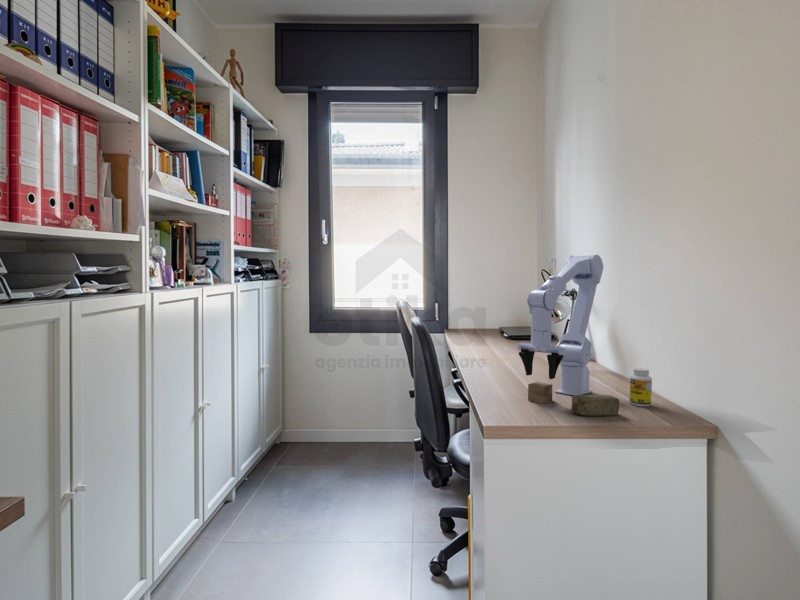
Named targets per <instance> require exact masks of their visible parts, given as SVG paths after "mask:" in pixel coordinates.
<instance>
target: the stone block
mask: <svg viewBox="0 0 800 600" xmlns="http://www.w3.org/2000/svg"><path fill="white" fill-rule="evenodd" d="M571 396H572V397H571V413H573V414H574V415H580V416H582V417H585V416H586V417H604V416H605V417H612V416H617V415H618V414H619V411H620V410H619V409H620V400H619V398H618V397H615V396H613V395H611V394H610V395H609V394H608V395H607V394H583V395H571Z"/></svg>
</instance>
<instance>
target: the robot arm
mask: <svg viewBox="0 0 800 600" xmlns="http://www.w3.org/2000/svg"><path fill="white" fill-rule="evenodd" d="M603 271H604V263H603V259H602V257H601V256H600V255H599V254H592V255H570V256H569V257H568V258H567V259H565V266H564V267H563V268H562V269H561V271H560V272H559V273H558V274H557V275H550V276H548V279H547V280H546V281H545V282H544V283H543V284H542V285H540V287H539V288H538V289H533V290H532V291H531V292H529V293H528V298H527V299H526V302H527V306H528V309H529V314H530V315H531V317H530V324H531V325H530V343H526V342H525V343H523V342H520V343H517V350H518V355H519V357H520V359H521V361H522V363H523V368H524V370H525V371H524V372H525V375H526V376H532V375H533V365H534V364H533V362H534V357H535V353H544V354H547V355H546V357H547V363H548V379H549V380H554V379H556V375H557V372H558V370H559V369H558V368H559V366H560V375H559V377H560V381H559V385H560V386H559V389H555V390H554V392H555V393H559V394H565V395H570V396H573V395H587V394H589V393H592V391H593V390H591V389H590V369H589V368H588V366H587V365H588V363H589V362H590V361H591V359H592V345H593V344H592V342H591V340H589V338H587V337H586V333H587V330H588V325H589V321H590V316H591V313H592V308H593V304H594V300H595V295H596V291H597V285H598V284H600V283H601V279H602V274H603ZM570 281H572V282H573V283H574V284H576V285H577V286H578V290H577V295H576V297H575V302H574V306H573V311H572V315H571V320H570V323H569V327H568V332H566V333H564V334H563V335H562V336H560V337H559V340H558V342H557V344H556V345H552V319H553V318H552V310H553V309H554V308H555V307H556V304H557V301H558V299H559V297H560V296H561V295H562V294H563V293H564V292H565V291H566V289H567V283H569V282H570Z"/></svg>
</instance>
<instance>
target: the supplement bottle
mask: <svg viewBox="0 0 800 600" xmlns="http://www.w3.org/2000/svg"><path fill="white" fill-rule="evenodd" d="M649 370H650V369H647V368H641V367H640V368H639V367H636V368H633V371H632V372H633V374H631V375H630V378H629V379H630V383H629V403H630V405H633V406H635V407H643V408H644V407H650V406H651V405H652V389H653V387H652V386H653V378H652V377H651V376H650V371H649Z"/></svg>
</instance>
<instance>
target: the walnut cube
mask: <svg viewBox="0 0 800 600" xmlns="http://www.w3.org/2000/svg"><path fill="white" fill-rule="evenodd" d="M527 387H528V388H527V401H529V402H533V403H538V404H544V405H545V404H546V403H550V402H553V384H552V383H546V382H542V381H536V382H531V383H528V385H527Z"/></svg>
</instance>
